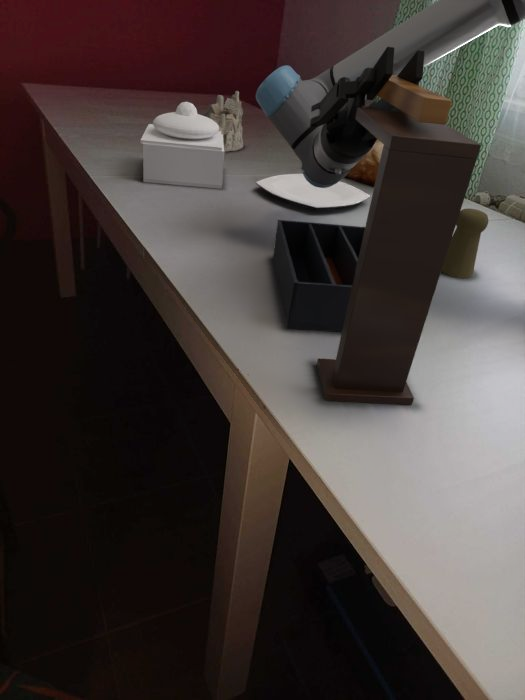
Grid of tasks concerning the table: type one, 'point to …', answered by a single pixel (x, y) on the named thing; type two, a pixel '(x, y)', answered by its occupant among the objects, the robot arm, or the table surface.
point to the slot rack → (316, 272)
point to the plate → (312, 192)
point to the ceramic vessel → (367, 165)
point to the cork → (465, 243)
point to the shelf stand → (399, 255)
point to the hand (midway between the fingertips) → (404, 62)
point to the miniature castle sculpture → (228, 120)
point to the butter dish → (183, 149)
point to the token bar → (416, 101)
